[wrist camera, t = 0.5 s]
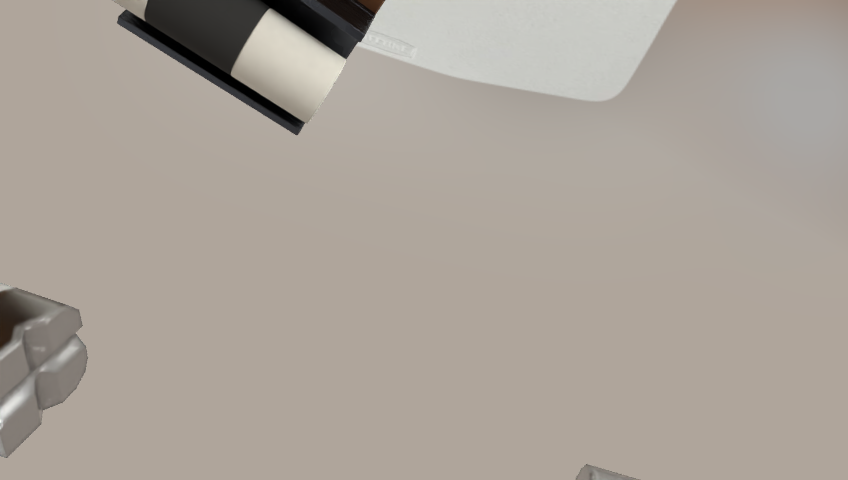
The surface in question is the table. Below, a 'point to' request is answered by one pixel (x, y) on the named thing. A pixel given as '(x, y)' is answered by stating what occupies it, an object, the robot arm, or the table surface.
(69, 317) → the robot arm
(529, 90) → the table surface
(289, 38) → the roll
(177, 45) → the tray
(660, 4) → the table surface
